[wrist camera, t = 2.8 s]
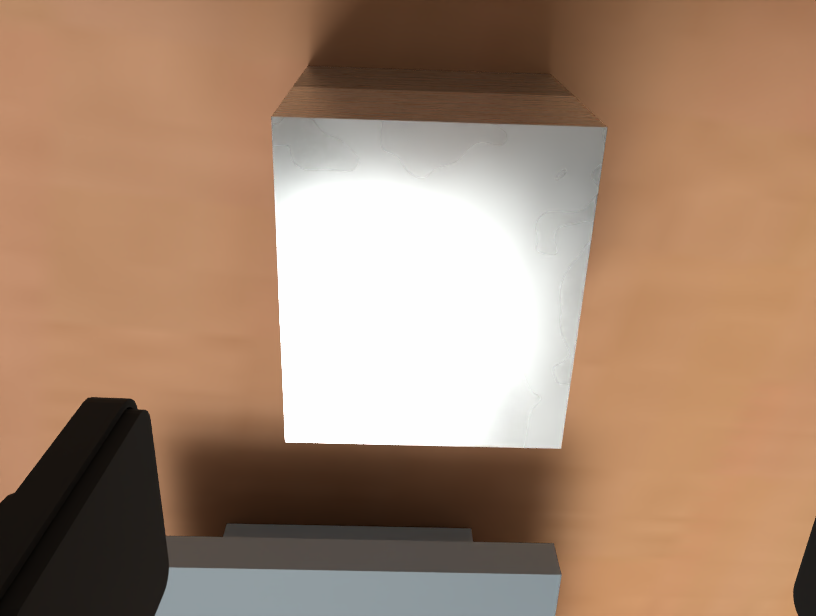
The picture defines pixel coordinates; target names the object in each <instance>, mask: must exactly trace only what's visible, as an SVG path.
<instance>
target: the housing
mask: <svg viewBox="0 0 816 616" xmlns="http://www.w3.org/2000/svg"><path fill="white" fill-rule="evenodd" d="M271 120H272V144H273V167H274V191H275V214H276V237H277V261H278V284H279V307H280V331H281V354H282V378H283V401H284V424H285V442H298V443H341V444H384V445H427V446H470V447H513V448H556V449H561V444H562V438H563V431H564V424H565V417H566V410H567V403H568V396H569V389H570V382H571V376H572V369H573V362H574V355H575V348H576V341H577V334H578V327H579V320H580V313H581V307H582V300H583V293H584V286H585V279H586V272H587V265H588V258H589V251H590V244H591V238H592V231H593V224H594V217H595V210H596V203H597V196H598V189H599V182H600V175H601V169H602V162H603V155H604V148H605V141H606V134H607V126H605V125H604V124H603V123H602V122H601V121H600V120H599V119H598V118H597V117H596V116H595V115H594V114H593V113H592V112H590V111H589V110H588V109H587V108H586V107H585V106H584V105H583V104H582V103H581V102H580V101H579V100H578V99H577V98H575V97H574V96H573V95H572V94H571V93H570V92H569V91H568V90H567V89H566V88H565V87H564V86H563V85H562V84H561V83H559V82H558V81H557V80H556V79H555V78H554V77H553V76H552V75H551V74H531V73H502V72H472V71H443V70H413V69H383V68H354V67H324V66H307V68H306V69H305V70H304V72H303V73H302V75H301V76H300V77H299V79H298V80H297V82H296V83H295V84H294V86H293V87H292V89H291V90H290V91H289V93H288V94H287V95H286V97H285V98H284V100H283V101H282V102H281V104H280V105H279V107H278V108H277V109H276V111H275V112H274V114H273V115H272V116H271Z"/></svg>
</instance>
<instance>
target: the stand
mask: <svg viewBox="0 0 816 616" xmlns="http://www.w3.org/2000/svg"><path fill="white" fill-rule="evenodd" d="M166 543H167V550H168V558H169V575H168V581H167V586H166V589H165V592H164V595H163V597H162V599H161V602H160V604H159V607H158V609H157V612H156V614H155V616H555V613H556V607H557V600H558V594H559V588H560V581H561V571H560V567H559V563H558V559H557V555H556V551H555V547H554V543H505V542H473V538H472V530H471V528H425V527H374V526H324V525H274V524H227V525H226V528H225V532H224V535H223V537H200V536H166Z"/></svg>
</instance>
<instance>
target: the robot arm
mask: <svg viewBox="0 0 816 616" xmlns="http://www.w3.org/2000/svg"><path fill="white" fill-rule="evenodd" d="M168 575H169V558H168V550H167V543H166V535H165V527H164V519H163V512H162V504H161V496H160V488H159V481H158V473H157V465H156V457H155V450H154V442H153V434H152V426H151V419H150V415H149V413H148V411H146V410H138V409H137V405H136V403H135V401H134V400H132V399H126V398H98V397H91V398H87V399H86V400H85V401H84V402H83V403H82V405H81V406H80V407H79V409H78V410H77V411H76V413H75V414H74V415H73V417H72V418H71V419H70V421H69V422H68V423H67V425H66V426H65V427H64V429H63V430H62V431H61V433H60V434H59V435H58V436H57V438H56V439H55V440H54V442H53V443H52V444H51V446H50V447H49V448H48V450H47V451H46V452H45V454H44V455H43V456H42V458H41V459H40V460H39V462H38V463H37V464H36V466H35V467H34V468H33V469H32V471H31V472H30V473H29V475H28V476H27V477H26V479H25V480H24V481H23V483H22V484H21V485H20V487H19V488H18V489H17V491H16V492H15V493H13V494H10V495H8V496H7V497H6V498H5V499H4V500H3V501H2V502H1V503H0V616H155V614H156V612H157V609H158V607H159V604H160V602H161V599H162V597H163V595H164V592H165V589H166V586H167V581H168ZM793 598H794V604H795V608H796V611H797V613H798V616H816V518H815V521H814V524H813V527H812V531H811V534H810V537H809V540H808V543H807V546H806V550H805V553H804V556H803V559H802V562H801V565H800V568H799V572H798V575H797V578H796V581H795V584H794V590H793Z"/></svg>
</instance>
